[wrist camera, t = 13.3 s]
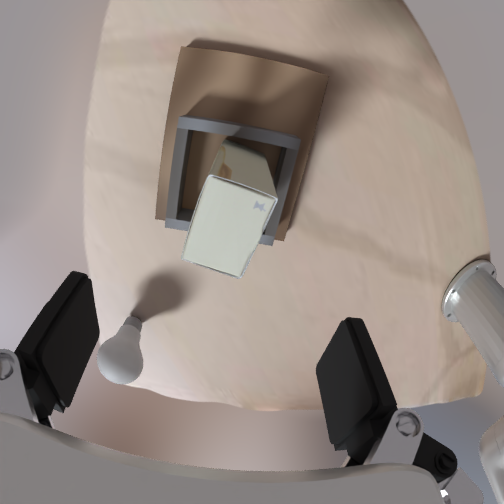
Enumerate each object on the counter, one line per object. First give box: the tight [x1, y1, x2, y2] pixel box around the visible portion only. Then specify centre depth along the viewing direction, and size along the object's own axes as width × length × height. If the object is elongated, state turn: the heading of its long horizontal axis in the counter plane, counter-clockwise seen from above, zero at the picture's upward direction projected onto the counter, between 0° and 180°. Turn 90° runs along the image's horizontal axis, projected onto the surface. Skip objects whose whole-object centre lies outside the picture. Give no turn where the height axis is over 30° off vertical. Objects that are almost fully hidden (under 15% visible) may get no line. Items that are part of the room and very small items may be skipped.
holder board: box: [155, 46, 329, 246], centre depth 25 cm, size 14×18×4 cm
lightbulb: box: [97, 316, 143, 384], centre depth 34 cm, size 6×6×11 cm
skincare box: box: [181, 139, 278, 279], centre depth 22 cm, size 6×4×12 cm
